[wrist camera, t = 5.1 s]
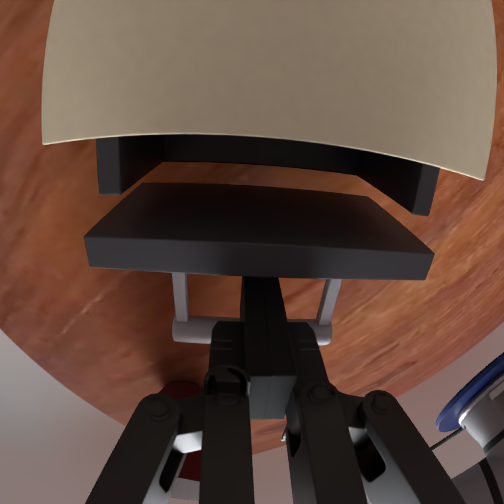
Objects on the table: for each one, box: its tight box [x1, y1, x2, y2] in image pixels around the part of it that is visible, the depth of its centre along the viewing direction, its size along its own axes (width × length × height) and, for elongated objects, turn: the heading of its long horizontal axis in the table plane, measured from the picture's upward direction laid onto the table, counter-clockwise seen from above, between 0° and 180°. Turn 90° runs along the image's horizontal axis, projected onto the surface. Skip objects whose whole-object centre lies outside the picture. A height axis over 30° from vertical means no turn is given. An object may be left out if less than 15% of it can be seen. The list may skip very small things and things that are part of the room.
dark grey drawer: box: [84, 134, 440, 345], centre depth 10 cm, size 20×12×7 cm, turn 176°
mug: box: [159, 381, 203, 500], centre depth 20 cm, size 10×8×10 cm
